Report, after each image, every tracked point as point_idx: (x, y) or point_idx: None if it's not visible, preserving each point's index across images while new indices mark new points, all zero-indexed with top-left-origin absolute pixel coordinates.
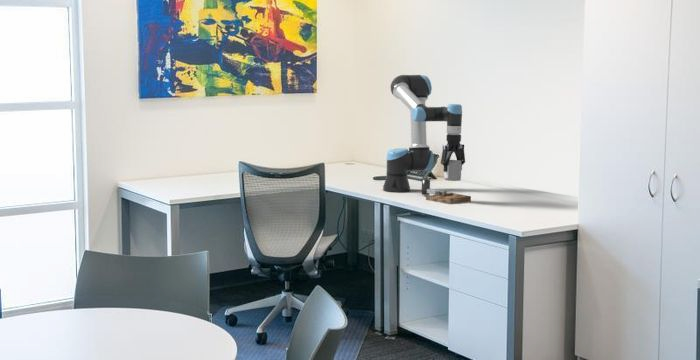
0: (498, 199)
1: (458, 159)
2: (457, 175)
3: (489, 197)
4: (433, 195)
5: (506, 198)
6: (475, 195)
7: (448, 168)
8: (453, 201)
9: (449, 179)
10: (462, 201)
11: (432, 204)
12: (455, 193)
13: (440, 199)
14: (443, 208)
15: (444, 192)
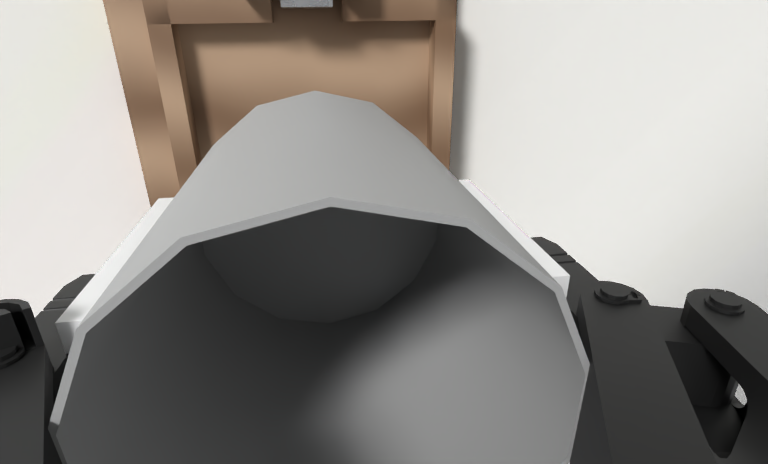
0: (671, 262)
1: (584, 438)
2: (315, 361)
3: (711, 162)
4: (146, 10)
5: (749, 254)
6: (732, 10)
7: None
8: None
9: (214, 271)
10: None
11: (7, 214)
12: (452, 57)
13: (143, 168)
14: None
15: (330, 6)
